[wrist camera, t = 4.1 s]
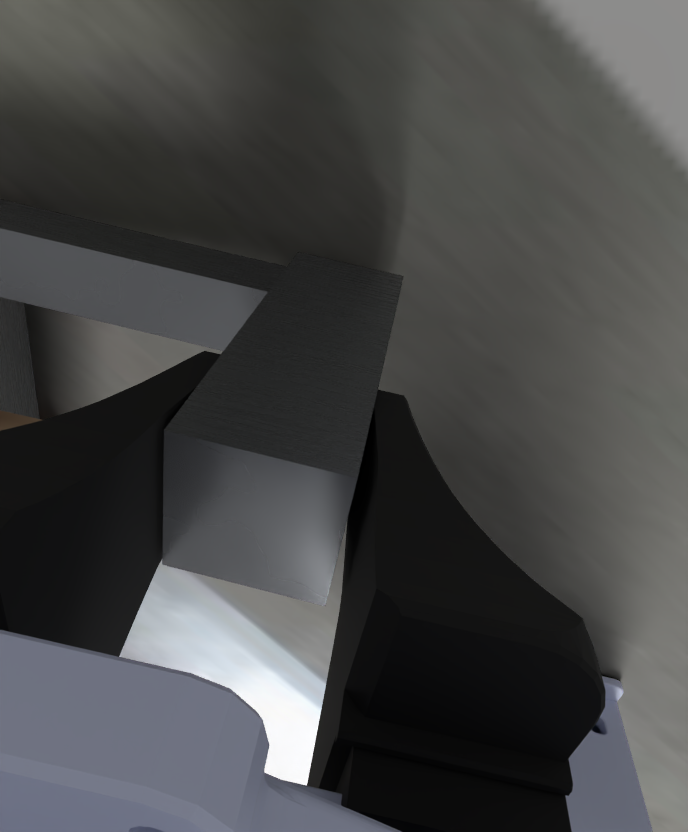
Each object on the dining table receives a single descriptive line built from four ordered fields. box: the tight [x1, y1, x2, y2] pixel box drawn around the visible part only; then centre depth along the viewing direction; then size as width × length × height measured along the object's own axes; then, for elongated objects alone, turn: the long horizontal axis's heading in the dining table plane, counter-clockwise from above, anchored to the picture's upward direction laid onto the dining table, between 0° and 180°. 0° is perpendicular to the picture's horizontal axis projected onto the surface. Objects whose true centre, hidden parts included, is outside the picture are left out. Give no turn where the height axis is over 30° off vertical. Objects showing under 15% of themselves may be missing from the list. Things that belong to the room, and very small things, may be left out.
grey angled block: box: [0, 199, 403, 606], centre depth 15 cm, size 14×8×9 cm, turn 80°
